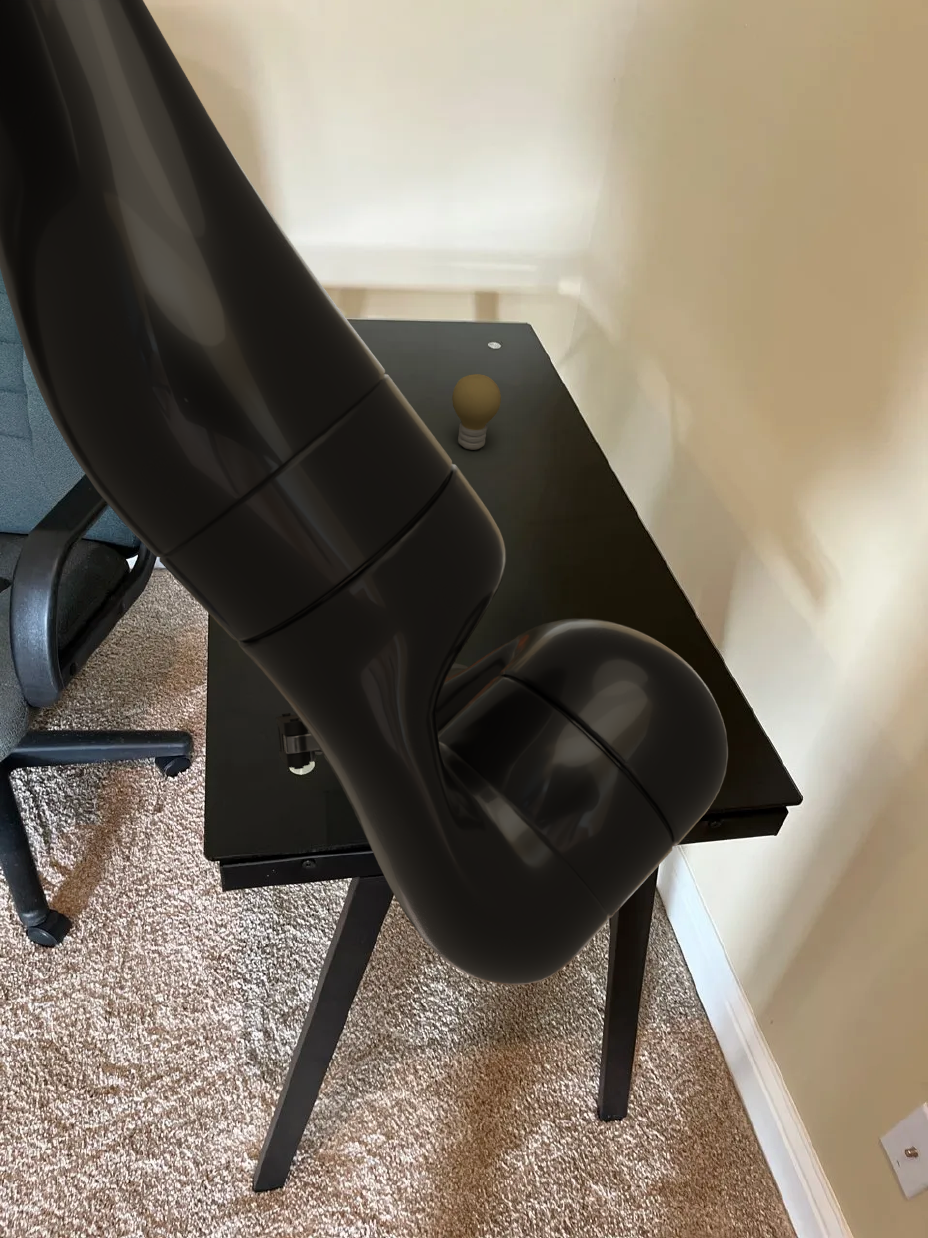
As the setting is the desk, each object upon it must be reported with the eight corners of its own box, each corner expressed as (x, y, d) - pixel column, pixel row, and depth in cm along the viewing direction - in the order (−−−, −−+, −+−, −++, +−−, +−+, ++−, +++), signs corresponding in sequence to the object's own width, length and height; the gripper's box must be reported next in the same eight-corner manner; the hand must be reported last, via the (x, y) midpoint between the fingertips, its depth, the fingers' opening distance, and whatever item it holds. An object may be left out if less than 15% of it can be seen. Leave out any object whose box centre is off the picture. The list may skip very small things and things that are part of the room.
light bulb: (456, 459, 110) (463, 389, 103) (441, 434, 114) (448, 367, 108) (500, 455, 112) (510, 387, 105) (485, 431, 116) (493, 364, 110)
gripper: (564, 647, 42) (480, 651, 57) (275, 678, 38) (270, 673, 54) (579, 796, 41) (491, 759, 57) (290, 841, 38) (281, 788, 54)
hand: (384, 717), depth 55 cm, fingers open, 8 cm apart
